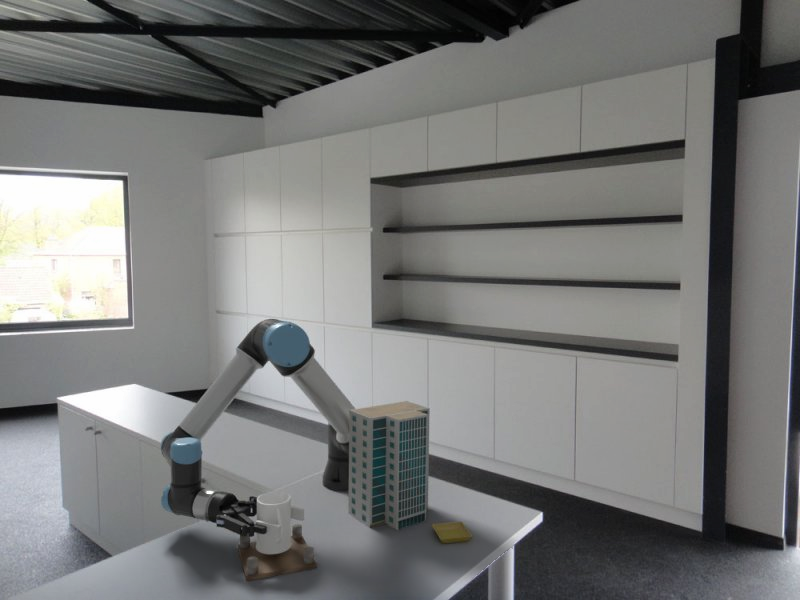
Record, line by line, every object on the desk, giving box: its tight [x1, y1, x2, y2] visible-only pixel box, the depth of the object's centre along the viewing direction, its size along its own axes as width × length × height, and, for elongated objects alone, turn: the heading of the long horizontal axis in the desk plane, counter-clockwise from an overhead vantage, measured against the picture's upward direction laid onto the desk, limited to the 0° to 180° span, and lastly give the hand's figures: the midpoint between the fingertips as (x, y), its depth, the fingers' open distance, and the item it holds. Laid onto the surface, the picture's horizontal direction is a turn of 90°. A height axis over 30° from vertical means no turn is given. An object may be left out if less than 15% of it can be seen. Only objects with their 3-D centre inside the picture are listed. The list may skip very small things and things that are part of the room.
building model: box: [348, 400, 430, 531], centre depth 163 cm, size 20×16×30 cm
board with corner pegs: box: [237, 523, 318, 582], centre depth 138 cm, size 16×16×4 cm
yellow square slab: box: [431, 521, 473, 544], centre depth 151 cm, size 9×9×2 cm
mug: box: [256, 491, 292, 554], centre depth 137 cm, size 12×8×12 cm
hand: (291, 522), depth 136 cm, fingers closed on mug, 9 cm apart
